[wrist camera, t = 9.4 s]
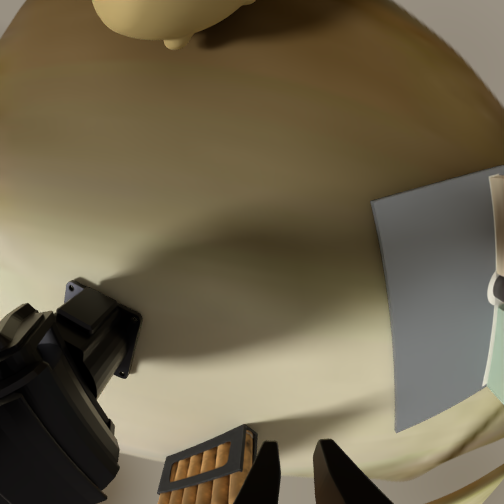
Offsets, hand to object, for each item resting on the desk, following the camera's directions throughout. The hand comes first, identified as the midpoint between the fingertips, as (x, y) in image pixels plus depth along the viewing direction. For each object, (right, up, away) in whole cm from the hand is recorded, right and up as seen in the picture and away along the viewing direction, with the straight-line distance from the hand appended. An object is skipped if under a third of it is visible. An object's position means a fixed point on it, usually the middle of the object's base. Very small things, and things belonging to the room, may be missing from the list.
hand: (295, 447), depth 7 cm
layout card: (+16, +1, +12) cm, 20 cm away
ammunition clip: (-6, -13, +16) cm, 21 cm away
